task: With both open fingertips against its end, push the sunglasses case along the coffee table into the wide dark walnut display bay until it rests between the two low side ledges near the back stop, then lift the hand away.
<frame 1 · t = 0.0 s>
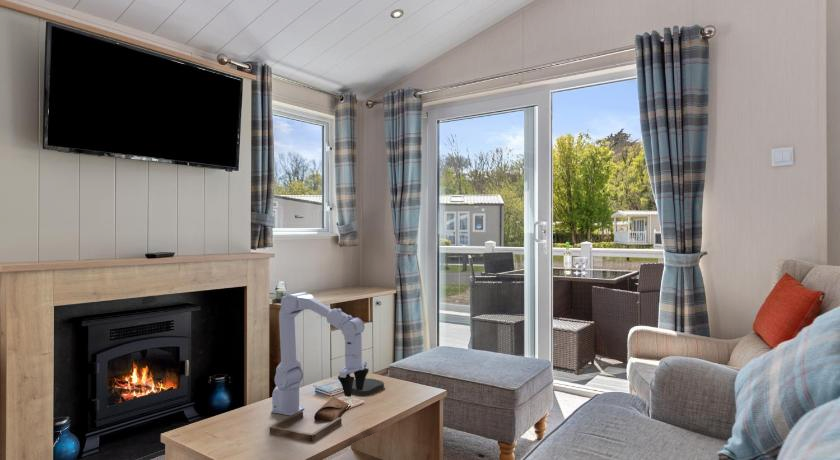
hand: (353, 392, 175), 10 cm above the table, tool pointing down, fingers open, 7 cm apart
sunglasses case: (333, 414, 184), on the table
media streaming box: (363, 390, 212), on the table
display bay: (310, 426, 172), on the table
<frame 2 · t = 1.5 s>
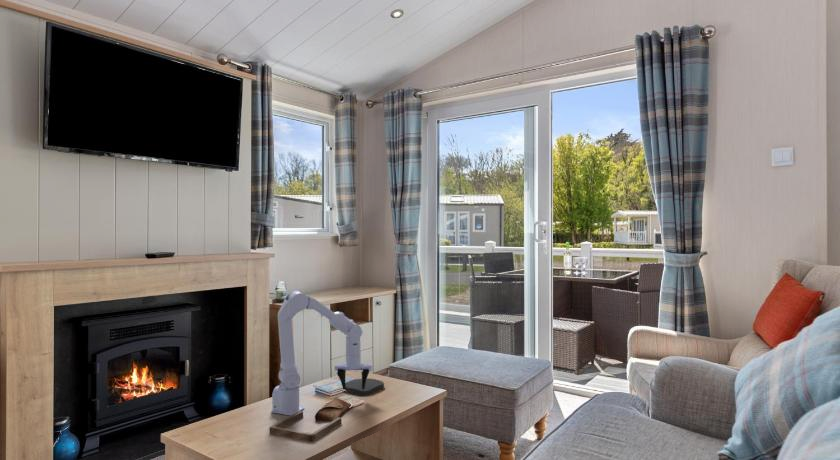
hand: (353, 388, 197), 5 cm above the table, tool pointing down, fingers open, 7 cm apart
nothing on the table moved.
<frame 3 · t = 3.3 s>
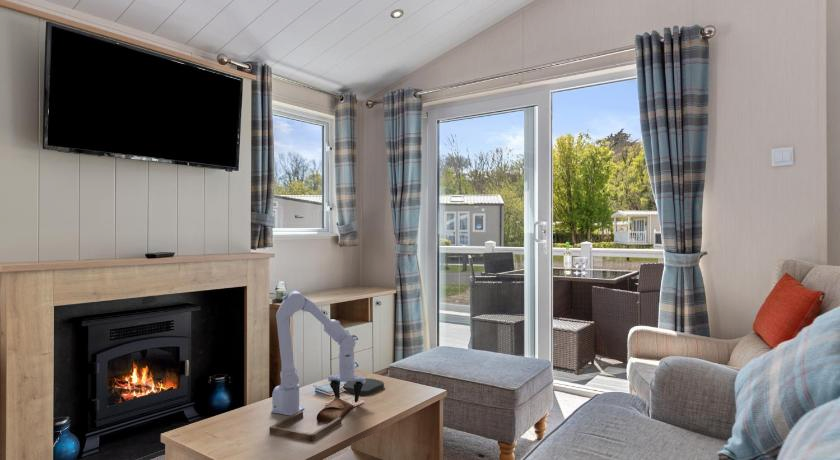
hand: (347, 400, 193), 1 cm above the table, tool pointing down, fingers open, 7 cm apart
sunglasses case: (336, 415, 183), on the table, touching gripper
everything else where it was.
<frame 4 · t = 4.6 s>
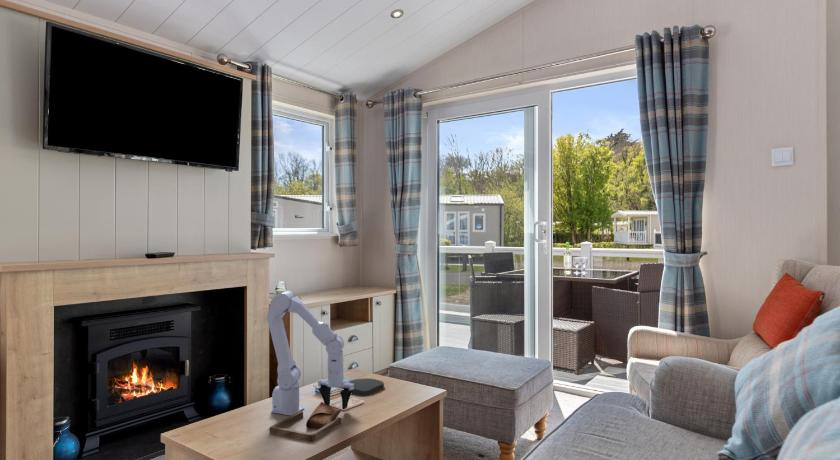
hand: (336, 407, 186), 1 cm above the table, tool pointing down, fingers open, 7 cm apart
sunglasses case: (324, 420, 178), resting on display bay
everything else where it was.
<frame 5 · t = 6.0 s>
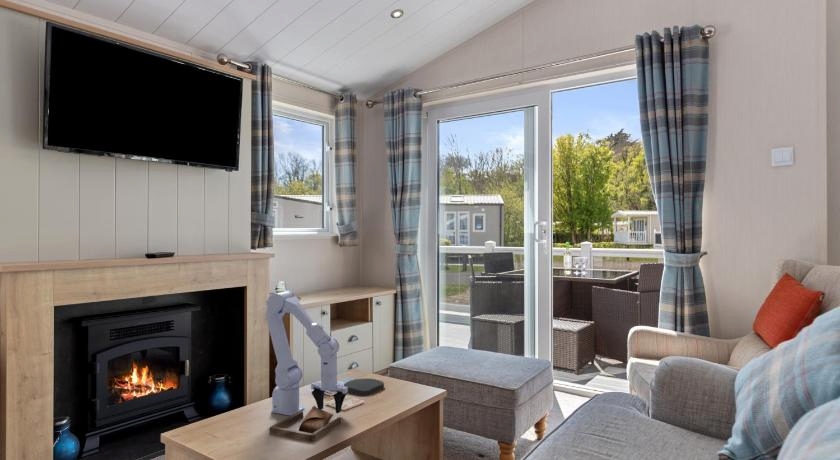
hand: (329, 410, 182), 1 cm above the table, tool pointing down, fingers open, 7 cm apart
sunglasses case: (316, 425, 174), resting on display bay
everything else where it was.
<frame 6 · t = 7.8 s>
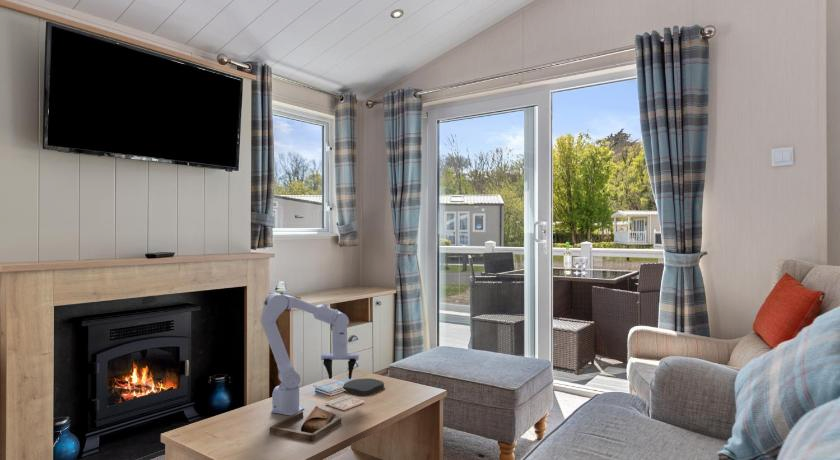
hand: (340, 378, 195), 9 cm above the table, tool pointing down, fingers open, 7 cm apart
nothing on the table moved.
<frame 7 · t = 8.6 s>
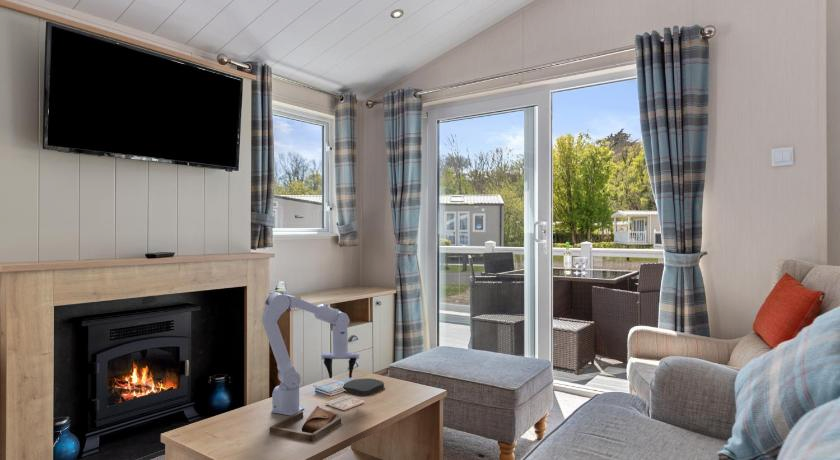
hand: (340, 377, 196), 9 cm above the table, tool pointing down, fingers open, 7 cm apart
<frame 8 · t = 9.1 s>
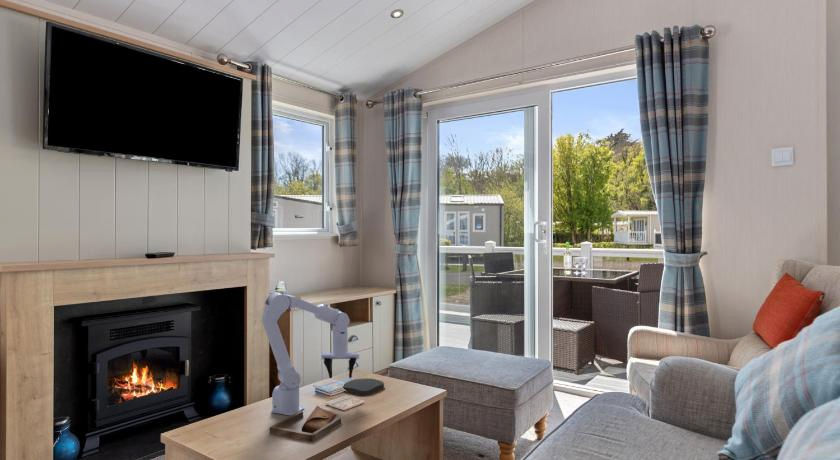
hand: (340, 377, 196), 9 cm above the table, tool pointing down, fingers open, 7 cm apart
at the end: sunglasses case 3.8 cm off-centre on the display bay, point -0.7 cm above the display bay's base; sunglasses case tilted 0°; sunglasses case moved 10.7 cm from its start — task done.
